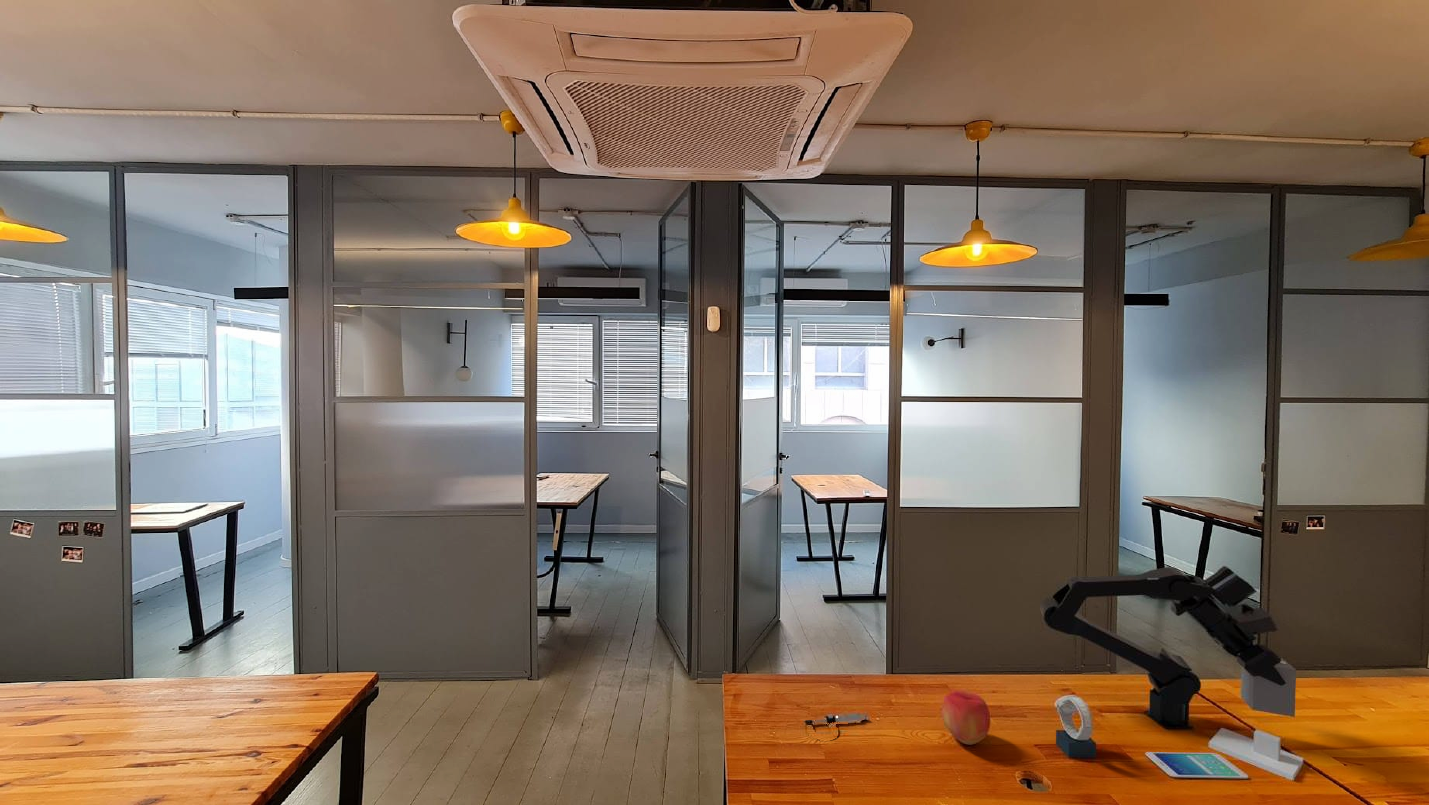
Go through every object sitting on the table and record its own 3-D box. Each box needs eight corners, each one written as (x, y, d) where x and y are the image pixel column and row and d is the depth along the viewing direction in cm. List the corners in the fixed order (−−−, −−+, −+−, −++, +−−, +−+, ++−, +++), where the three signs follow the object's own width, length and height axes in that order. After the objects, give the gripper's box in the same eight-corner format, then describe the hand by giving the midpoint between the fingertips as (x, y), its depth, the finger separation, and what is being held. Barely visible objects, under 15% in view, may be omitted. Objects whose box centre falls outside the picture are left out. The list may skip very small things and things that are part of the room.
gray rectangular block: (1252, 710, 120) (1253, 662, 119) (1240, 697, 125) (1241, 651, 124) (1294, 717, 117) (1296, 668, 117) (1281, 704, 122) (1282, 657, 122)
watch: (1076, 739, 121) (1076, 688, 121) (1101, 763, 113) (1102, 709, 113) (1050, 738, 121) (1050, 688, 121) (1073, 763, 113) (1074, 709, 113)
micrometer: (811, 745, 120) (812, 733, 120) (801, 725, 127) (801, 714, 127) (878, 738, 122) (878, 727, 122) (865, 719, 129) (865, 708, 129)
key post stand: (1208, 747, 118) (1209, 723, 118) (1221, 732, 123) (1222, 709, 123) (1292, 781, 108) (1293, 755, 108) (1303, 763, 113) (1303, 738, 113)
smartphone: (1251, 777, 108) (1171, 776, 109) (1251, 782, 108) (1171, 780, 109) (1217, 753, 116) (1143, 751, 116) (1217, 757, 116) (1143, 755, 116)
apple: (996, 757, 115) (996, 709, 115) (946, 751, 117) (947, 703, 117) (983, 729, 124) (984, 684, 124) (937, 724, 126) (938, 680, 126)
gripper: (1269, 612, 113) (1341, 677, 109) (1226, 582, 130) (1287, 638, 126) (1218, 644, 116) (1287, 708, 112) (1183, 611, 134) (1241, 666, 130)
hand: (1276, 678), depth 120 cm, fingers closed on gray rectangular block, 5 cm apart
